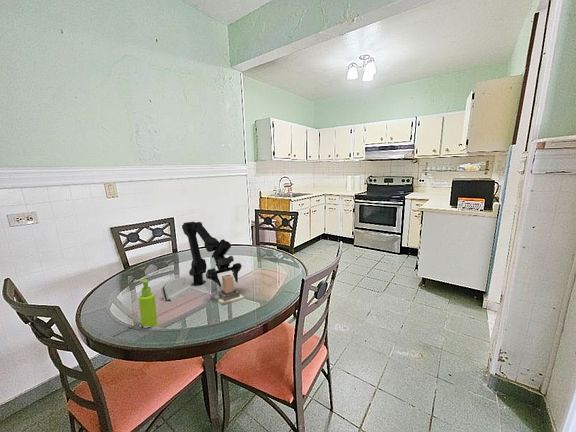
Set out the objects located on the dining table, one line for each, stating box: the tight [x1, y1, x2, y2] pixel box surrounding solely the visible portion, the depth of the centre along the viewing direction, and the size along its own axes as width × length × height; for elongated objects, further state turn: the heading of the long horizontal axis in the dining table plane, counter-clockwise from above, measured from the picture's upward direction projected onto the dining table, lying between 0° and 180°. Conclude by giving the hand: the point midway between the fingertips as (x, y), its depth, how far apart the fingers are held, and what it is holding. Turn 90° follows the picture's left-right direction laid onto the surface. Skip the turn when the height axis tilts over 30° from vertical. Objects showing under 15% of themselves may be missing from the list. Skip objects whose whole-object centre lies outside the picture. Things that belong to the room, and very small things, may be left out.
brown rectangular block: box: [221, 274, 235, 295], centre depth 132 cm, size 4×4×11 cm
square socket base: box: [213, 288, 245, 306], centre depth 133 cm, size 12×12×4 cm
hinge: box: [160, 277, 192, 302], centre depth 140 cm, size 17×5×10 cm, turn 163°
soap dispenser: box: [138, 278, 158, 327], centre depth 108 cm, size 6×7×20 cm
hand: (229, 284), depth 131 cm, fingers open, 9 cm apart
